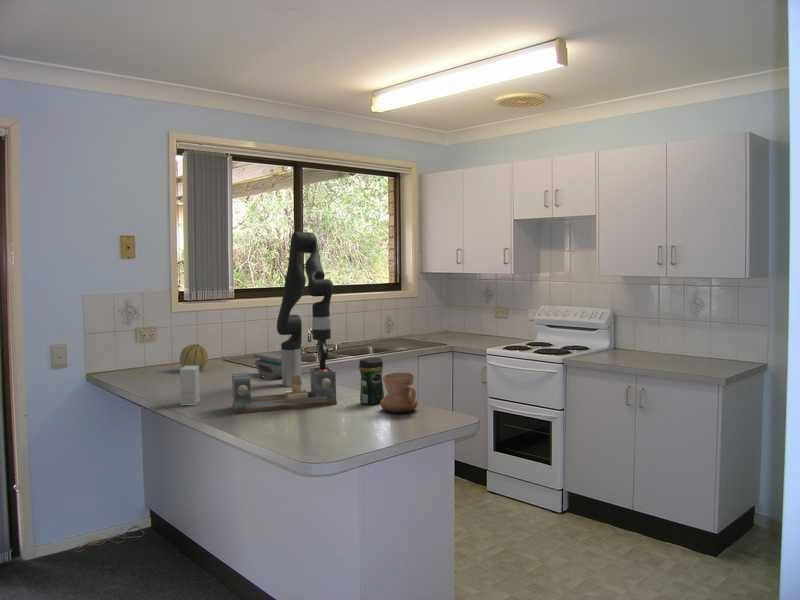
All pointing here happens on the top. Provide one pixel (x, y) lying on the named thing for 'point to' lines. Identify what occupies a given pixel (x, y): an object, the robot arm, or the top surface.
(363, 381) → the coffee jar
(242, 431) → the top surface
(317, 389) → the rail track
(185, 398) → the skincare box
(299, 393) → the carriage
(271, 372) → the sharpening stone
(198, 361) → the cantaloupe
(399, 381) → the ceramic jug
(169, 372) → the top surface
